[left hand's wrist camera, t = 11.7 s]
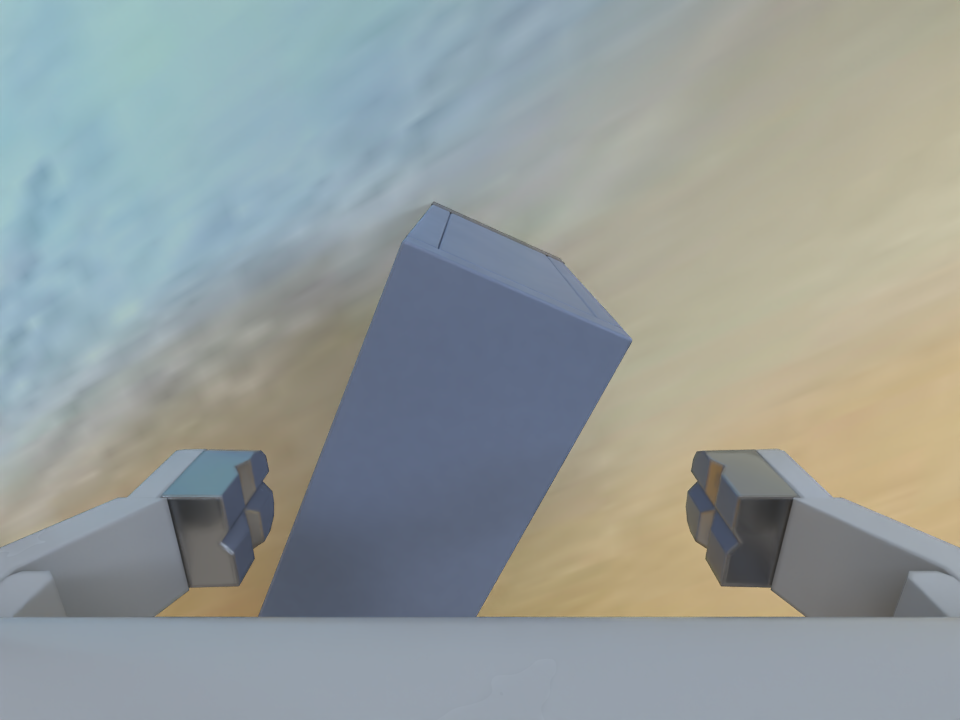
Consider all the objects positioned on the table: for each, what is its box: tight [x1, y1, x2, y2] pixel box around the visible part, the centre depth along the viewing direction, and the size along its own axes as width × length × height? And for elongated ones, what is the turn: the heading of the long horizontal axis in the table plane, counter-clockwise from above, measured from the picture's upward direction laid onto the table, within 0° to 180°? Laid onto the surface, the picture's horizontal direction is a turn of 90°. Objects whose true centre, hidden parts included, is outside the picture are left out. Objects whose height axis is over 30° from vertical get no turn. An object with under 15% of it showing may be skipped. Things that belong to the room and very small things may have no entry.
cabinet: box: [258, 202, 632, 617], centre depth 19 cm, size 17×5×10 cm, turn 156°
